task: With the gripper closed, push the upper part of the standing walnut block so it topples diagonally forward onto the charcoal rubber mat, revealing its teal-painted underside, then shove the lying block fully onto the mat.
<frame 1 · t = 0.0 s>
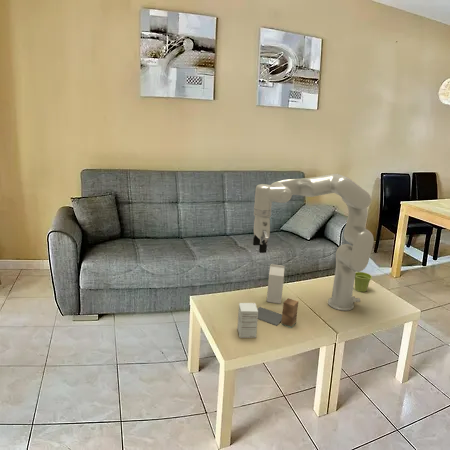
hand: (259, 248, 177), 31 cm above the table, fingers open, 9 cm apart
mat: (267, 316, 180), on the table
milk carton: (274, 300, 197), on the table
walnut block: (288, 323, 175), on the table
plant pot: (360, 290, 213), on the table
supplement box: (246, 333, 166), on the table
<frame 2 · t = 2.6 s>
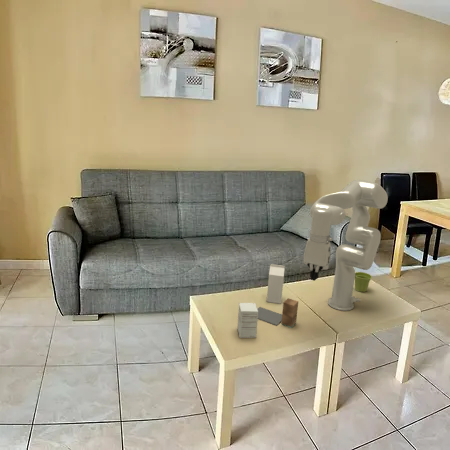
hand: (313, 279, 163), 25 cm above the table, fingers closed
nothing on the table moved.
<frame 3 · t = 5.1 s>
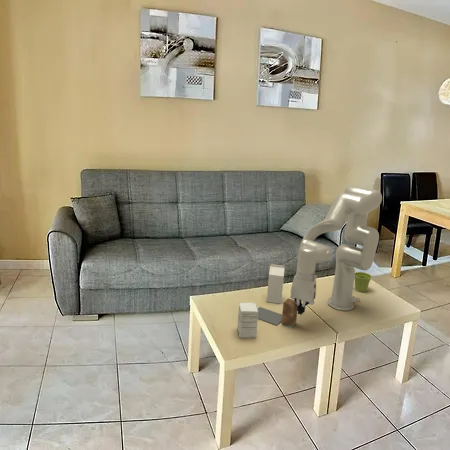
hand: (300, 313, 170), 7 cm above the table, fingers closed
walnut block: (288, 323, 175), on the table, touching gripper
everything else where it was.
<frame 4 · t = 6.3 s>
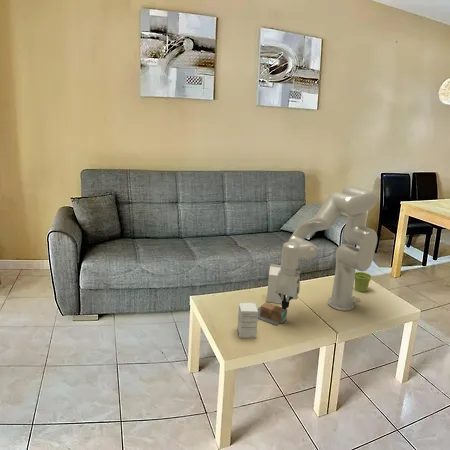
hand: (284, 307, 174), 7 cm above the table, fingers closed
walnut block: (284, 316, 175), point 3 cm above the table, tilted 90°, touching mat
everything else where it was.
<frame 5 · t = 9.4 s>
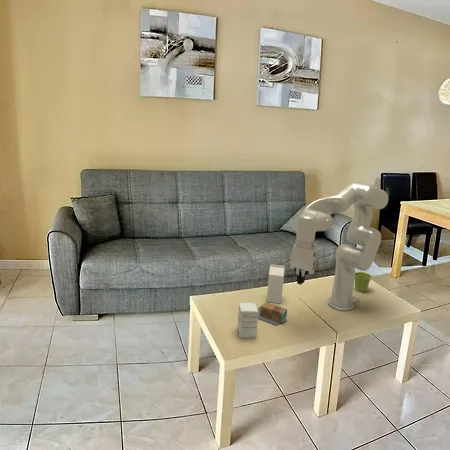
hand: (300, 283, 167), 21 cm above the table, fingers closed
nothing on the table moved.
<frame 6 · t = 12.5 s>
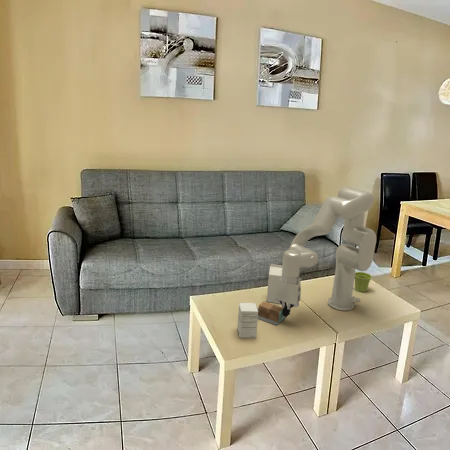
hand: (285, 315, 175), 4 cm above the table, fingers closed
walnut block: (282, 315, 176), point 3 cm above the table, tilted 90°, touching gripper, mat
everything else where it was.
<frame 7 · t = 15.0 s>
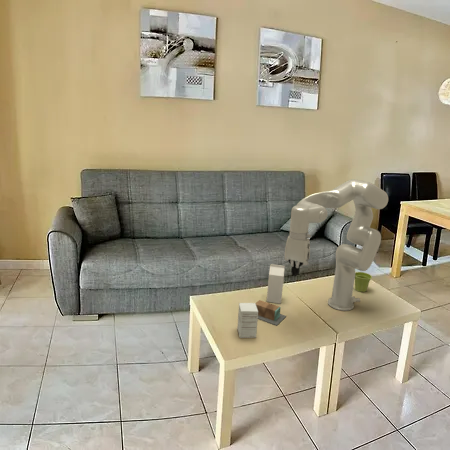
hand: (294, 274, 168), 24 cm above the table, fingers closed
walnut block: (277, 313, 177), point 3 cm above the table, tilted 90°, touching mat
everything else where it was.
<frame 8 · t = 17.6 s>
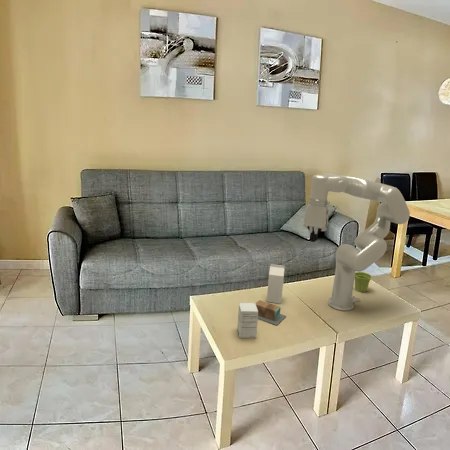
hand: (313, 241, 179), 35 cm above the table, fingers closed
nothing on the table moved.
at the end: walnut block tilted 90°; walnut block inside the target area (4.5 cm from its centre), point 3.0 cm above the table; walnut block 4.9 cm from the mat (horizontally) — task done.
